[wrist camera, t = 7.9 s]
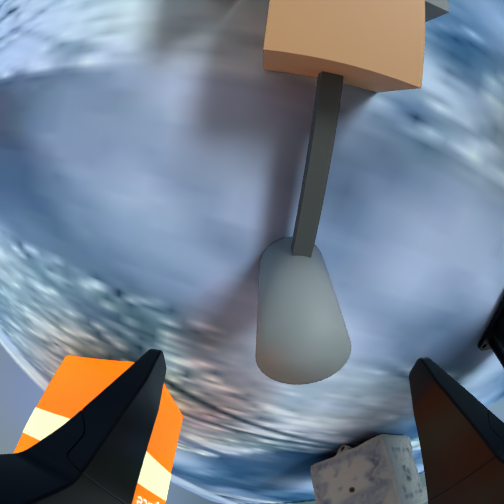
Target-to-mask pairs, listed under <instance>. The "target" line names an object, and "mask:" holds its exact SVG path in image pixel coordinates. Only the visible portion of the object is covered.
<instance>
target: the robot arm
mask: <svg viewBox="0 0 504 504" xmlns="http://www.w3.org/2000/svg"><path fill="white" fill-rule="evenodd" d="M478 348H479V349H480V351H482V350H488V349H492V350H493V352H494V353H495V355H496V356H497V358H498V360H499V361H500V363H501V364H502V366H503V368H504V298H503V300H502V302H501V304H500V306H499V308H498V310H497V312H496V314H495V316H494V318H493V320H492V322H491V323H490V325H489V327H488V329H487V331H486V332H485V334H484V336H483V337H482V339H481V341H480V342H479V344H478ZM165 374H166V364H165V359H164V355H163V352H162V351H161V350H157V349H150V350H148V351H147V352H146V353H145V354H144V355H143V356H141V357H140V358H139V359H138V360H137V361H136V362H135V363H134V364H132V365H131V366H130V367H129V368H128V369H127V370H126V371H125V372H123V373H122V374H121V375H120V376H119V377H118V378H117V379H115V380H114V381H113V382H112V383H111V384H110V385H109V386H108V387H106V388H105V389H104V390H103V391H102V392H101V393H100V394H99V395H97V396H96V397H95V398H94V399H93V400H92V401H91V402H89V403H88V404H87V405H86V406H85V407H84V408H83V409H82V410H80V411H79V412H78V413H77V414H76V415H75V416H73V417H72V418H71V419H70V420H69V421H67V422H66V423H65V424H64V425H62V426H61V427H60V428H58V429H57V430H55V431H54V432H53V433H51V434H50V435H48V436H47V437H45V438H44V439H42V440H41V441H39V442H38V443H36V444H35V445H33V446H32V447H30V448H28V449H26V450H24V451H22V452H19V453H14V454H1V455H0V504H132V501H133V498H134V494H135V490H136V486H137V483H138V479H139V476H140V472H141V468H142V465H143V461H144V458H145V455H146V451H147V448H148V444H149V441H150V438H151V434H152V431H153V428H154V424H155V421H156V418H157V415H158V411H159V406H160V401H161V395H162V390H163V385H164V379H165ZM409 382H410V388H411V396H412V404H413V411H414V417H415V421H416V426H417V431H418V436H419V441H420V447H421V452H422V458H423V465H424V472H425V479H426V486H427V496H428V504H504V423H503V422H502V421H501V420H500V419H498V418H497V417H496V416H495V415H494V414H493V413H492V412H491V411H490V410H488V409H487V408H486V407H485V406H484V405H483V404H482V403H481V402H479V401H478V400H477V399H476V398H475V397H474V396H473V395H472V394H470V393H469V392H468V391H467V390H466V389H465V388H464V387H462V386H461V385H460V384H459V383H458V382H457V381H455V380H454V379H453V378H452V377H451V376H450V375H449V374H447V373H446V372H445V371H444V370H443V369H442V368H440V367H439V366H438V365H437V364H436V363H434V362H433V361H432V360H431V359H430V358H427V357H426V358H419V359H418V360H417V361H416V363H415V365H414V366H413V368H412V370H411V371H410V374H409Z"/></svg>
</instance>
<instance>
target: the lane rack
mask: <svg viewBox="0 0 504 504" xmlns="http://www.w3.org/2000/svg"><path fill="white" fill-rule="evenodd" d="M446 13H449V5H448V0H425V22H427V21H429V20H431V19H434V18H436V17H438V16H441V15H443V14H446Z"/></svg>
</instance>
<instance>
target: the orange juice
mask: <svg viewBox="0 0 504 504" xmlns="http://www.w3.org/2000/svg"><path fill="white" fill-rule="evenodd" d="M134 363H135V362H126V361H114V360H103V359H93V358H85V357H77V356H69V355H66V357H65V358H64V360H63V362H62V363H61V365H60V367H59V368H58V370H57V372H56V373H55V375H54V377H53V378H52V380H51V382H50V383H49V385H48V387H47V389H46V390H45V392H44V394H43V396H42V398H41V399H40V401H39V403H38V405H37V407H35V409H34V411H33V413H32V415H31V417H30V419H29V421H28V422H27V424H26V426H25V428H24V430H23V434H22V436H21V438H20V440H19V443H18V445H17V447H16V449H15V451H14V453H19V452H22V451H24V450H26V449H28V448H30V447H32V446H33V445H35V444H36V443H38V442H39V441H41V440H42V439H44V438H45V437H47V436H48V435H50V434H51V433H53V432H54V431H55V430H57V429H58V428H60V427H61V426H62V425H64V424H65V423H66V422H67V421H69V420H70V419H71V418H72V417H73V416H75V415H76V414H77V413H78V412H79V411H80V410H82V409H83V408H84V407H85V406H86V405H87V404H88V403H89V402H91V401H92V400H93V399H94V398H95V397H96V396H97V395H99V394H100V393H101V392H102V391H103V390H104V389H105V388H106V387H108V386H109V385H110V384H111V383H112V382H113V381H114V380H115V379H117V378H118V377H119V376H120V375H121V374H122V373H123V372H125V371H126V370H127V369H128V368H129V367H130V366H131V365H132V364H134ZM182 420H183V415H182V414H181V412H180V410H179V409H178V407H177V405H176V404H175V402H174V400H173V399H172V397H171V395H170V394H169V392H168V390H167V388H166V386H165V385H163V390H162V395H161V401H160V406H159V411H158V415H157V418H156V421H155V424H154V428H153V431H152V434H151V438H150V441H149V444H148V448H147V451H146V455H145V458H144V461H143V465H142V468H141V472H140V476H139V479H138V483H137V486H136V490H135V494H134V498H133V501H132V504H165V501H166V498H167V493H168V489H169V484H170V479H171V470H172V466H173V461H174V456H175V452H176V447H177V442H178V438H179V433H180V429H181V424H182ZM14 453H13V454H14Z"/></svg>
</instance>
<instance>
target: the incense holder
mask: <svg viewBox="0 0 504 504" xmlns="http://www.w3.org/2000/svg"><path fill="white" fill-rule="evenodd" d="M310 473H311V477H312V483H313V488H314V492H315V498H316V504H423V503H425V502H427V501H428V499H427V489H426V487H425V486H423V485H421V481H420V478H419V474H418V470H417V468H416V465H415V462H414V458H413V455H412V445H411V441H410V437H409V436H408V435H389V434H381V435H378V436H376V437H374V438H372V439H370V440H368V441H366V442H364V443H362V444H360V445H359V446H357V447H354V448H352V447H350V446H348V445H342V446H341V447H340V448H339V450H338V452H337V454H336V455H335V456H334V457H332V458H329V459H326V460H324V461H321V462H318V463H315V464H313V465H312V466H311V471H310Z"/></svg>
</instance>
